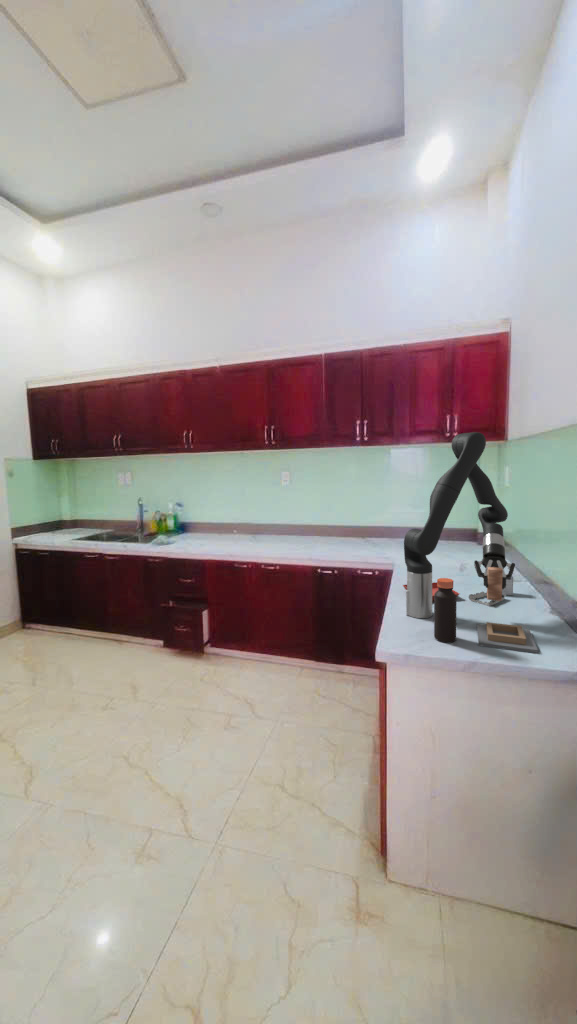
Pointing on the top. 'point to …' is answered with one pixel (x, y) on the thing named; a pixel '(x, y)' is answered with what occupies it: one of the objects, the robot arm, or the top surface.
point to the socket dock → (506, 637)
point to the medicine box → (508, 587)
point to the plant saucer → (434, 590)
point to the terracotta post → (494, 583)
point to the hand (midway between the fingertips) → (494, 587)
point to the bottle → (445, 611)
